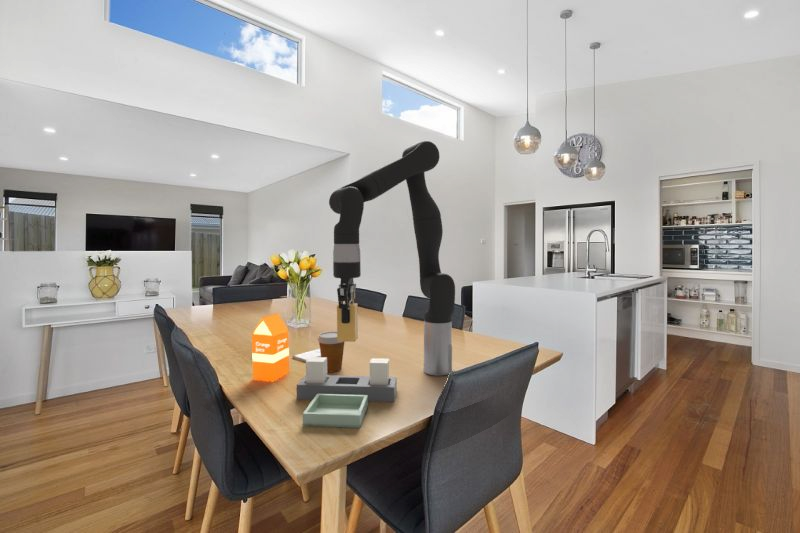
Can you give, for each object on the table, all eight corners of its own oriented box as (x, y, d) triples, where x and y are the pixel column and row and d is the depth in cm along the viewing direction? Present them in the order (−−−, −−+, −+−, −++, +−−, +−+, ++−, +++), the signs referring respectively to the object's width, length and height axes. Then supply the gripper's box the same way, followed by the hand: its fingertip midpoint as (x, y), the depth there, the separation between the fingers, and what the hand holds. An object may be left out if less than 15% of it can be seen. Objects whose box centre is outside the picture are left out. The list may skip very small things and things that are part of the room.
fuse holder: (396, 390, 108) (396, 376, 107) (394, 401, 100) (394, 387, 99) (306, 387, 110) (306, 374, 109) (296, 399, 102) (296, 384, 101)
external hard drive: (292, 359, 139) (318, 352, 148) (306, 364, 133) (332, 355, 143) (292, 355, 138) (318, 348, 148) (305, 359, 133) (332, 351, 143)
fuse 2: (389, 392, 106) (389, 358, 105) (387, 398, 102) (387, 363, 101) (371, 392, 106) (371, 358, 106) (369, 398, 102) (369, 362, 102)
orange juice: (289, 372, 123) (288, 313, 122) (273, 382, 114) (272, 318, 113) (269, 370, 125) (268, 312, 124) (252, 379, 116) (250, 317, 115)
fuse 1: (327, 391, 107) (327, 357, 106) (323, 396, 103) (323, 361, 102) (310, 390, 107) (310, 357, 107) (306, 396, 103) (305, 361, 103)
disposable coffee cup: (340, 374, 121) (340, 338, 120) (313, 372, 122) (312, 337, 122) (350, 365, 130) (349, 331, 129) (324, 363, 132) (324, 330, 131)
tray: (367, 406, 97) (367, 395, 97) (360, 428, 85) (360, 415, 85) (317, 404, 98) (317, 393, 98) (302, 426, 86) (302, 413, 86)
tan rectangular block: (357, 337, 105) (357, 303, 105) (355, 341, 101) (354, 305, 101) (340, 337, 106) (340, 303, 105) (337, 341, 102) (336, 305, 101)
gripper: (355, 261, 95) (356, 327, 96) (364, 259, 109) (364, 316, 110) (326, 261, 96) (327, 326, 97) (339, 259, 110) (340, 316, 111)
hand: (347, 321), depth 103 cm, fingers closed on tan rectangular block, 4 cm apart
